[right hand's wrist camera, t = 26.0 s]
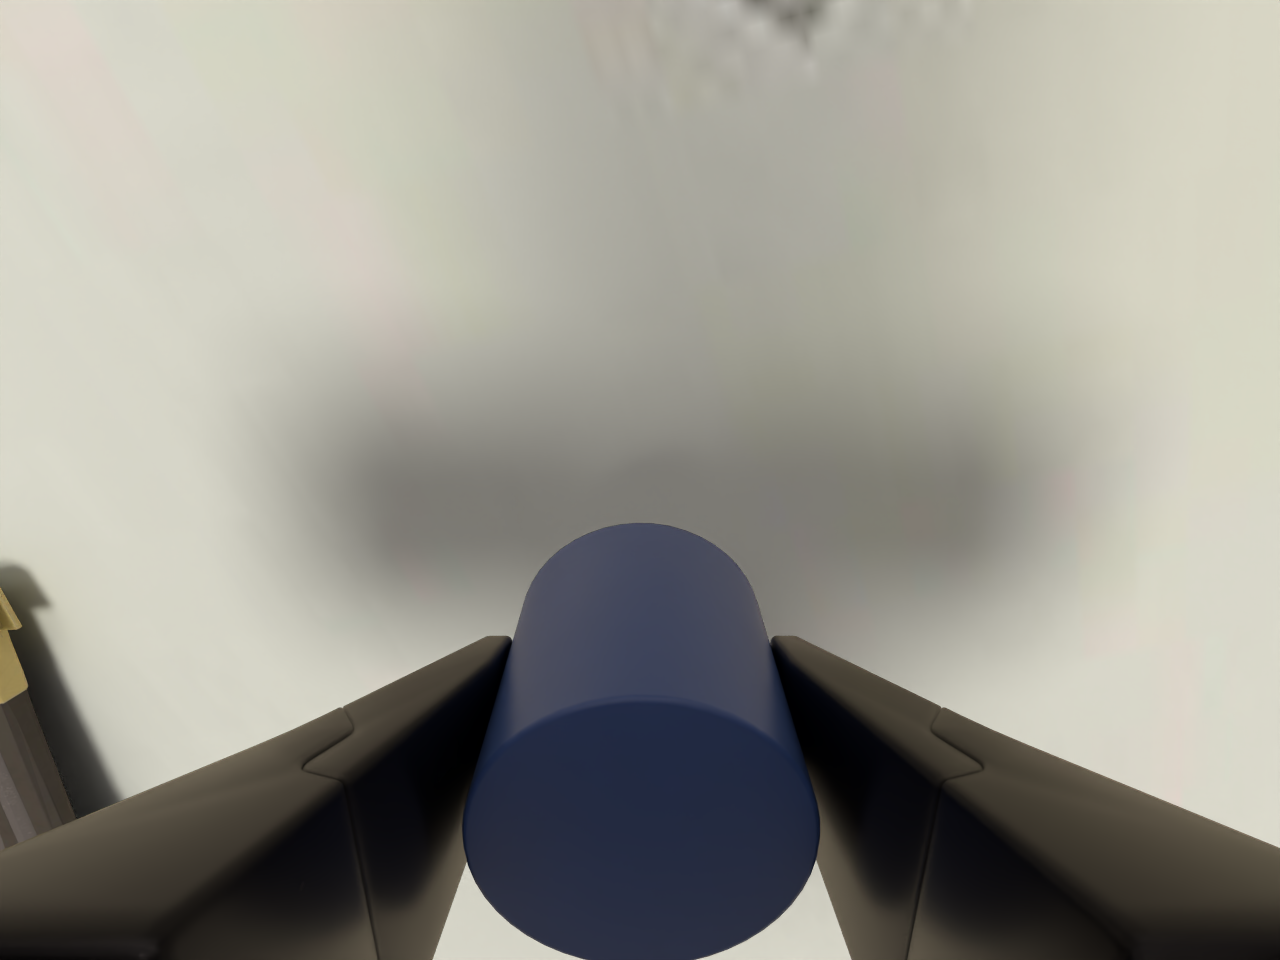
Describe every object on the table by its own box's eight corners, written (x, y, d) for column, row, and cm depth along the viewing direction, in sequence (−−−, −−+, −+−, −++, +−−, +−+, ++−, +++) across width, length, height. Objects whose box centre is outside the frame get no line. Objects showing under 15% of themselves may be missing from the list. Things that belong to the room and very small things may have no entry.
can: (531, 728, 13) (481, 972, 9) (510, 524, 12) (437, 703, 8) (756, 722, 13) (811, 965, 9) (763, 517, 12) (834, 693, 8)
